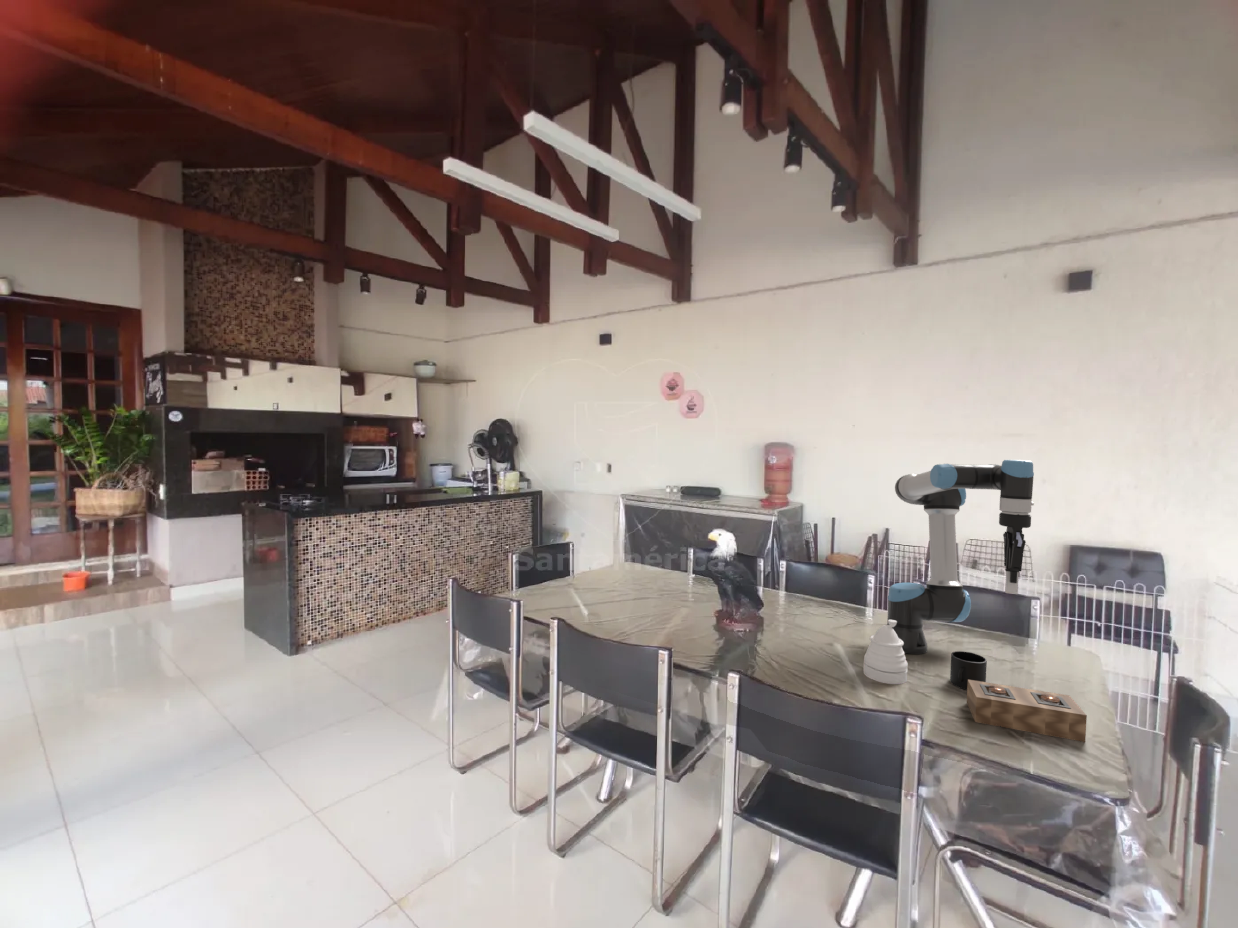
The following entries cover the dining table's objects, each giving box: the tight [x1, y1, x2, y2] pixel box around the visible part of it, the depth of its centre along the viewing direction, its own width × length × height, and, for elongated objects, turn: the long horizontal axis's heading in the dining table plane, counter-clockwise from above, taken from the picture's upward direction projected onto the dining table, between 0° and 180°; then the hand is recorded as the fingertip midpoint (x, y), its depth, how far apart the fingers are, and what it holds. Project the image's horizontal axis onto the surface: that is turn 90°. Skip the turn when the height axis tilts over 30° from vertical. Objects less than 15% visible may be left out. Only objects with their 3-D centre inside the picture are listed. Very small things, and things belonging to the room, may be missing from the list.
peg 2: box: [1041, 694, 1060, 705], centre depth 148 cm, size 4×4×7 cm
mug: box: [949, 650, 988, 691], centre depth 172 cm, size 9×12×9 cm
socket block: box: [966, 680, 1088, 743], centre depth 150 cm, size 24×12×7 cm, turn 67°
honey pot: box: [863, 619, 909, 685], centre depth 179 cm, size 13×13×18 cm
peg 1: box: [988, 686, 1006, 696], centre depth 153 cm, size 4×4×7 cm
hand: (1011, 592), depth 161 cm, fingers closed
